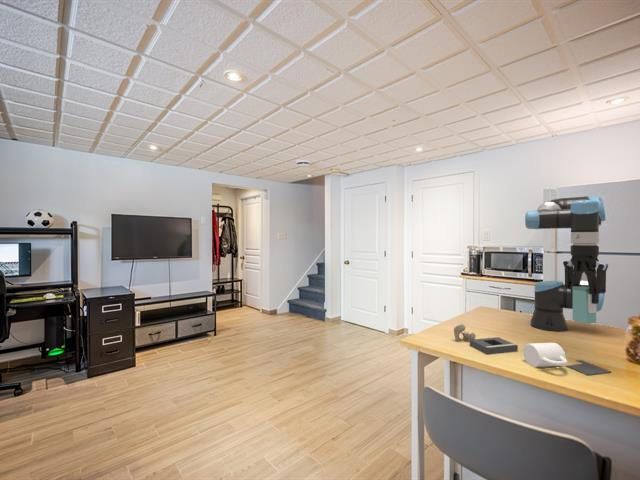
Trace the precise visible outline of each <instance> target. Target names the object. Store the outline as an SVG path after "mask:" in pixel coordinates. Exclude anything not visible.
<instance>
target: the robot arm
mask: <svg viewBox="0 0 640 480" xmlns="http://www.w3.org/2000/svg"><path fill="white" fill-rule="evenodd" d="M524 217H525V218H524V223H525V227H526V229H528V230H542V229H547V230H548V229H549V230H551V229H552V230H553V229H570V244H571V245H570V255H571V258H570V260H566V261H565V260H563V262H562V264H563V266H564V282H563V281H562V280H545V281H544V280H543V281H538V282H536V283H535V284H534V290H533V292H534V311H533V313H532V316H531V319H530V324H529V325H530V326H531V327H534V328H535V329H540V330H544V331H548V332H549V331H552V332H567V331H568V330H569V329H568V326H569V325H568V323H567V321H566V318H565V315H564V309H568V310H573V289H572V287H573V286H586V287H589V288H590V293H589V294H588V313H596V314H597V312H600V311H601V310H602V309H603V305H604V300H605V293H607V290H606V289H607V270H608V268H609V264H608V263H602V262H600V261H599V258H598V257H599V256H600V254H599V253H600V251H599V250H600V247H599V246H598V244H600V231H599V228H600V227H602V222H605V221H606V219H607V218H606V211H605V205H604V201H603V199H602V197H601V196H598V195H597V196H596V195H591V196H589V195H587V196H577V197H573V196H572V197H560V198H556V199H555V198H554V199H550V200H547V201H545V202H543V203H542V204H540V205H539V206H538V207H537V209H534V210H528V211H526V212H525V216H524Z"/></svg>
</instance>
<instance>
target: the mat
mask: <svg viewBox="0 0 640 480" xmlns="http://www.w3.org/2000/svg"><path fill="white" fill-rule="evenodd" d="M575 362H577V364H572V365H571V364H570V365H568V364H567V365H565V367H566V368H569V369H571V370H572V371H576V372H578V373H581V374H583V375H585V376H587V377H588V376H596V375H603V374H605V375H606V374H610V373H612V371H611V370H608V369H605V368H603V367H601V366H599V365H595V364H593V363H590V362H587V361H585V360H582V359H577V360H575ZM578 363H579V364H578Z"/></svg>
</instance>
